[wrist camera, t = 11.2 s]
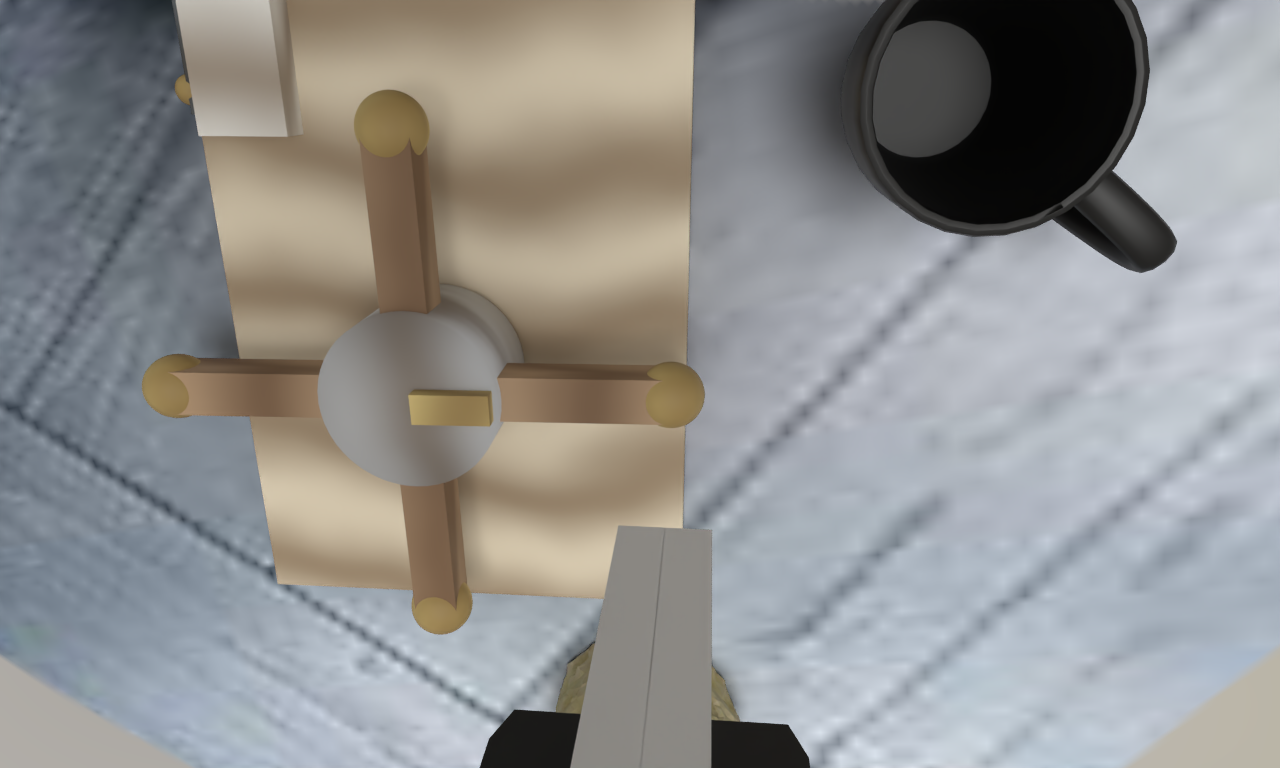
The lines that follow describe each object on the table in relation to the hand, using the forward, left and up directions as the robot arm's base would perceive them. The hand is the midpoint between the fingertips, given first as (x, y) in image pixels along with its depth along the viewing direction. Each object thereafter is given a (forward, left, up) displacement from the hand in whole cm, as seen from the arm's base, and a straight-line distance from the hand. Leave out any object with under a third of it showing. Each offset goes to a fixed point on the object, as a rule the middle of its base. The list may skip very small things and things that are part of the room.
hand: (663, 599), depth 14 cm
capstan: (+4, -11, -22) cm, 25 cm away
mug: (-6, +10, -24) cm, 27 cm away
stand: (+2, -10, -24) cm, 26 cm away
